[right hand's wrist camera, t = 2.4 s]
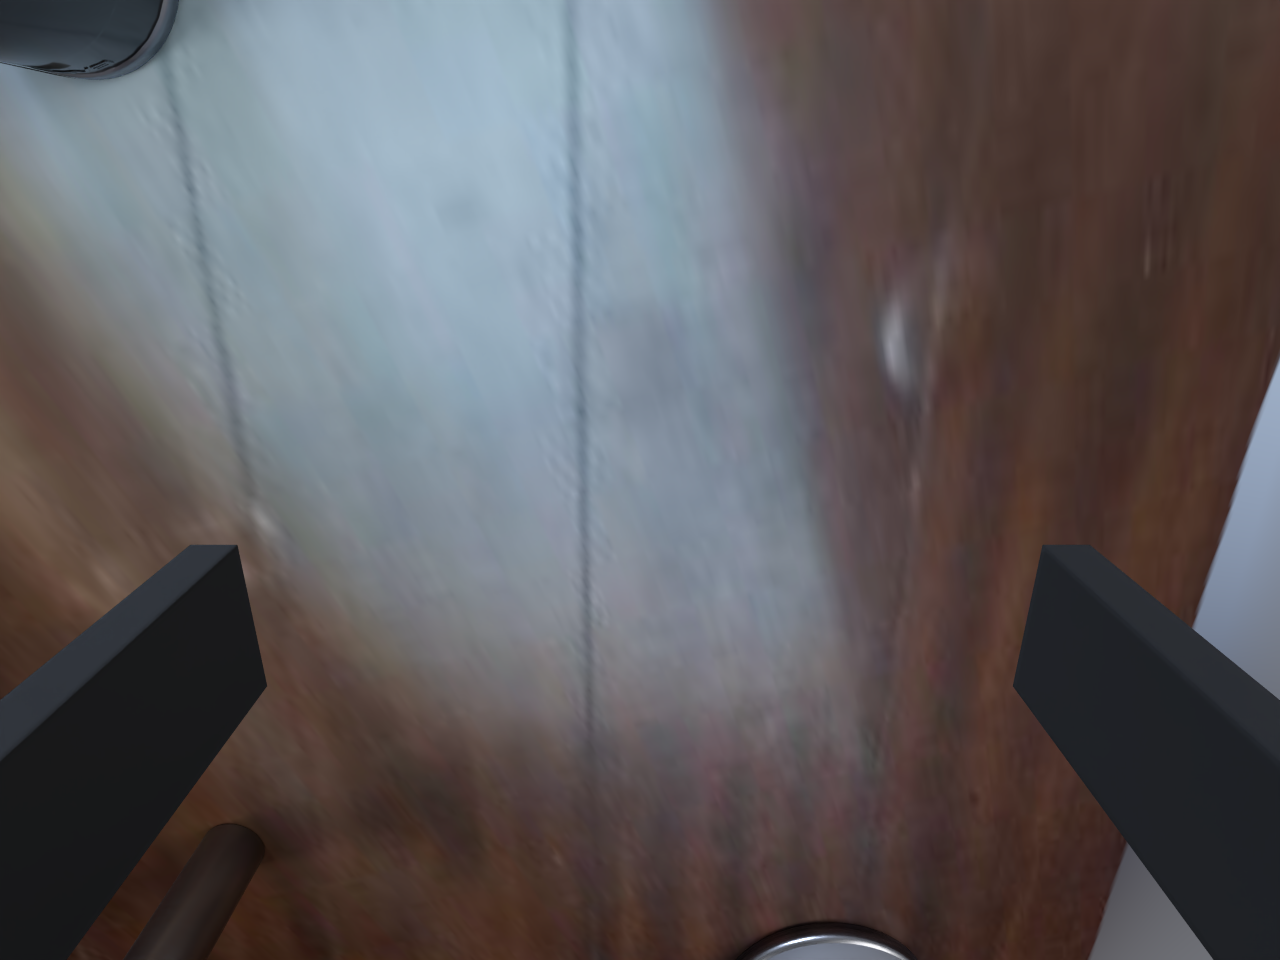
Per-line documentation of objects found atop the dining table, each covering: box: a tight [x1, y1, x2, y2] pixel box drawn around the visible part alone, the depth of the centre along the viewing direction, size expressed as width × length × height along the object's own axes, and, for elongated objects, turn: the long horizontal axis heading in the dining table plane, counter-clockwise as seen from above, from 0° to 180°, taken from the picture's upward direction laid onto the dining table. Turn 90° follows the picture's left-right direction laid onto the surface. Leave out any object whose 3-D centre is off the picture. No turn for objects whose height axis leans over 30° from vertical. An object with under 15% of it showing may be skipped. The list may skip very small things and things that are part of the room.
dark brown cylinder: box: [123, 824, 265, 960], centre depth 45 cm, size 4×4×15 cm
